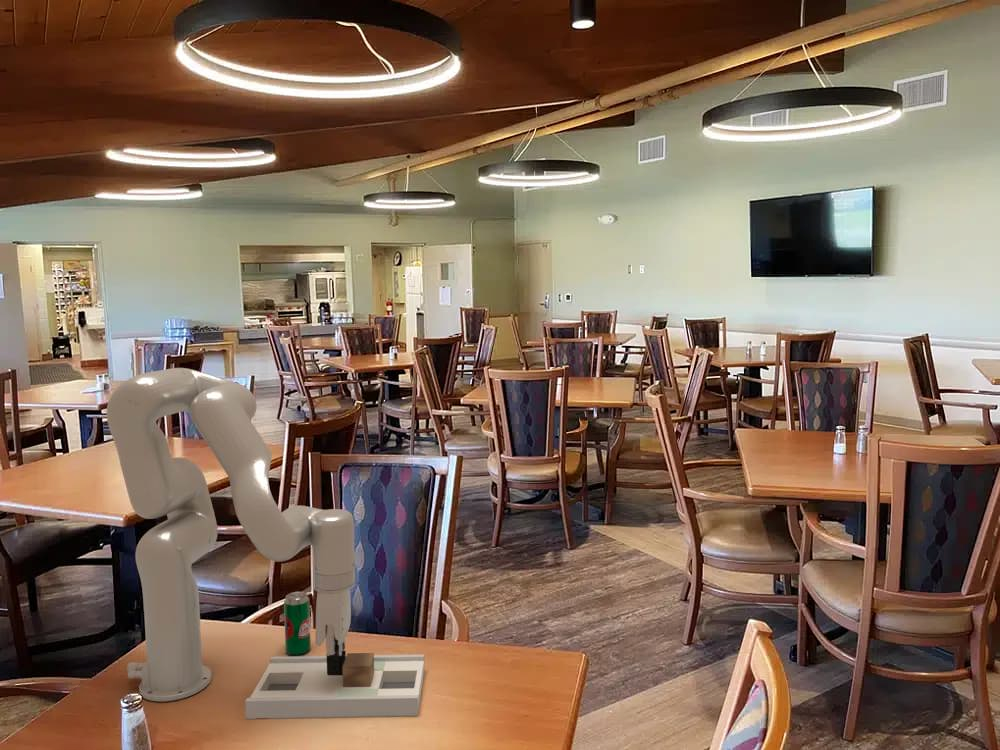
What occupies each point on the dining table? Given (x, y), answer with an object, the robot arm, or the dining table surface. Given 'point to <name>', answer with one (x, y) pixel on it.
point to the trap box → (336, 689)
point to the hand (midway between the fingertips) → (336, 673)
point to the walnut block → (358, 670)
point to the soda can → (297, 623)
